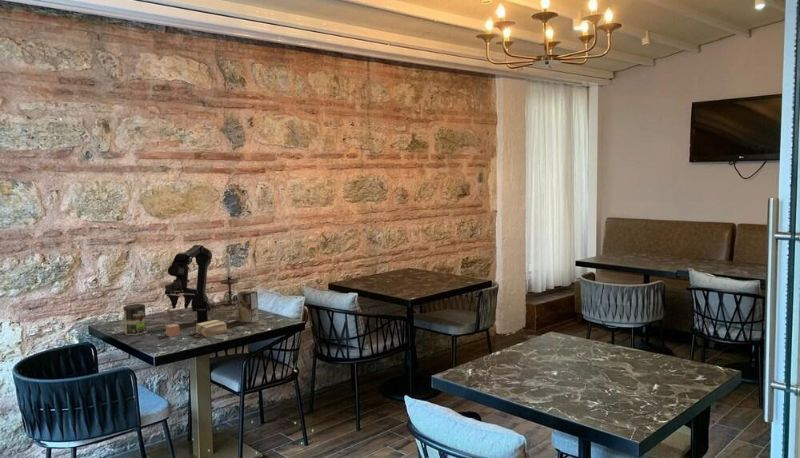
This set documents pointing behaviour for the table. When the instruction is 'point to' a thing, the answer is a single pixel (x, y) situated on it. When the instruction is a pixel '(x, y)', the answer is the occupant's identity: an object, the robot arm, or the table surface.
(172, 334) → the cube
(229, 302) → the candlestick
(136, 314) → the coffee can
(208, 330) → the base block
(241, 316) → the coffee box
